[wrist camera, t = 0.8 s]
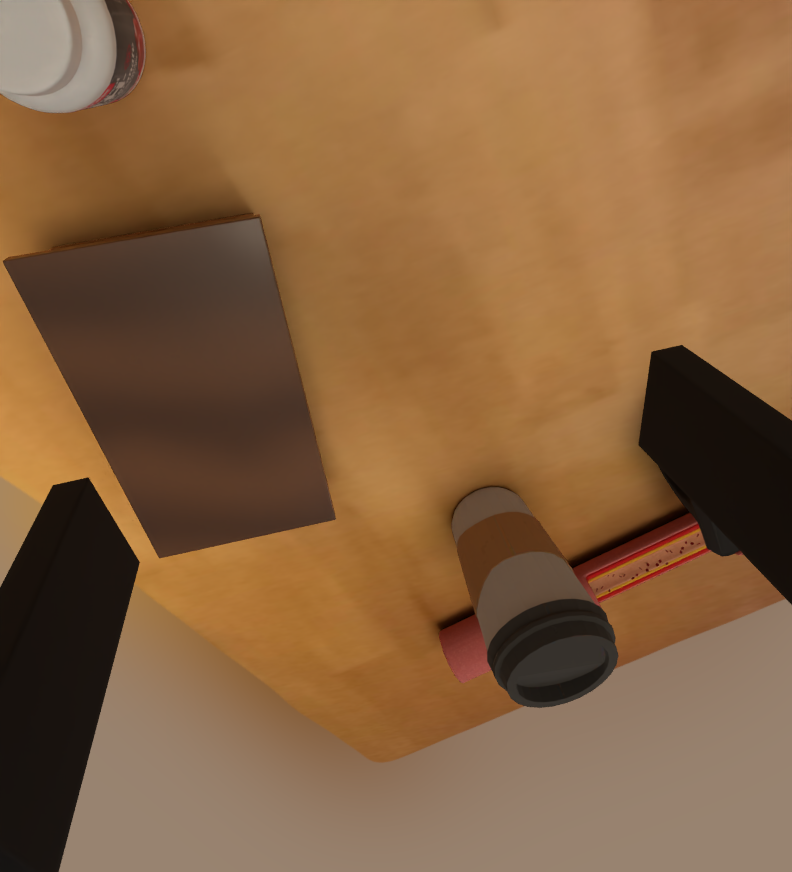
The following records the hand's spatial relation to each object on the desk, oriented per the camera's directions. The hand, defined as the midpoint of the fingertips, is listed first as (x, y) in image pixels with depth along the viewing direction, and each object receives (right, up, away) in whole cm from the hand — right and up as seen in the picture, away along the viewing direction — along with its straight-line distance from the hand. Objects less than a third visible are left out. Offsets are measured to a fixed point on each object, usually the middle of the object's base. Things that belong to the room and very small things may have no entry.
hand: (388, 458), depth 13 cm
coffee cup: (+8, -6, +34) cm, 35 cm away
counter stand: (-12, +4, +22) cm, 26 cm away
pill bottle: (-14, +19, +12) cm, 27 cm away
